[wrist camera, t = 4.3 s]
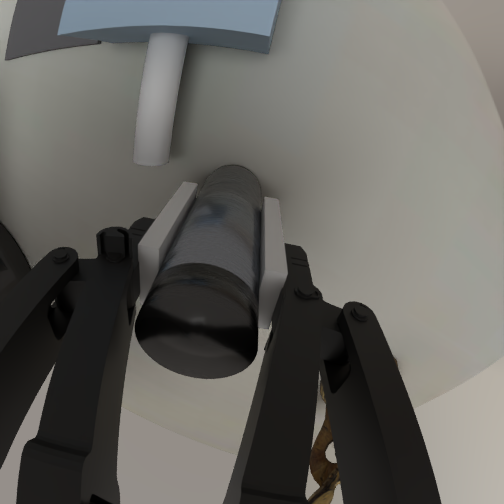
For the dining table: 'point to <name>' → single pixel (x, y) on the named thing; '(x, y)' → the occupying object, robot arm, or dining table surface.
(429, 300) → the dining table surface
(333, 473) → the wooden mug
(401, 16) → the dining table surface
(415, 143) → the dining table surface
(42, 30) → the mat
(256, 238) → the bottle
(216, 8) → the block
